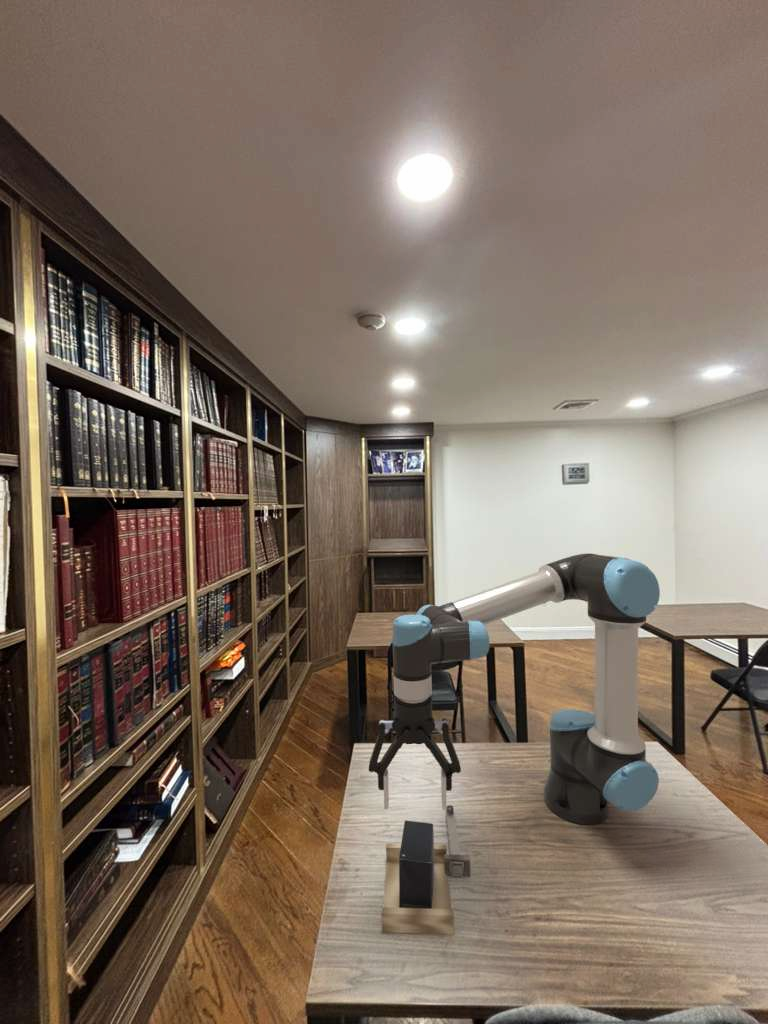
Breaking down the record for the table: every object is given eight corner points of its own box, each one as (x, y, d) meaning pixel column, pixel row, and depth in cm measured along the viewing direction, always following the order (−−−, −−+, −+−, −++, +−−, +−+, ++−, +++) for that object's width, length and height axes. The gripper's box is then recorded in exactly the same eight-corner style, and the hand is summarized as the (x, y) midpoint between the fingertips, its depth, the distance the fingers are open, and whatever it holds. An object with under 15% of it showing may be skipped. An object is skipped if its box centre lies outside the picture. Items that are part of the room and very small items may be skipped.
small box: (433, 918, 82) (432, 862, 82) (398, 913, 83) (397, 859, 83) (435, 871, 92) (434, 821, 92) (404, 867, 93) (403, 819, 93)
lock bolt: (453, 815, 109) (453, 802, 109) (462, 877, 91) (462, 861, 91) (445, 815, 109) (445, 801, 109) (452, 876, 91) (452, 860, 91)
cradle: (467, 860, 95) (467, 844, 95) (479, 935, 79) (479, 915, 79) (386, 859, 96) (386, 842, 96) (382, 932, 80) (381, 912, 80)
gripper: (469, 687, 90) (471, 793, 90) (356, 687, 91) (359, 791, 92) (474, 704, 82) (477, 819, 83) (352, 703, 84) (354, 817, 84)
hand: (415, 804), depth 87 cm, fingers open, 11 cm apart
